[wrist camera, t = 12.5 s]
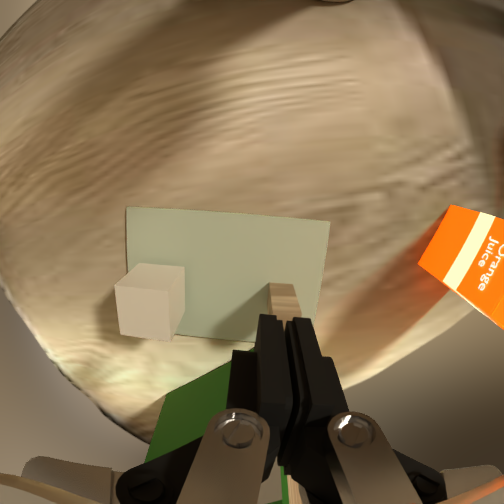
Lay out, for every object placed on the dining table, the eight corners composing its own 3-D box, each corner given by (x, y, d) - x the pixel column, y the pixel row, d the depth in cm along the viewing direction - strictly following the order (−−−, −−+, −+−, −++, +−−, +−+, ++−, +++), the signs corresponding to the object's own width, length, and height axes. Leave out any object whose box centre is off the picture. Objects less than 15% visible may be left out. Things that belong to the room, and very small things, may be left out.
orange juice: (416, 263, 32) (528, 347, 13) (450, 203, 30) (578, 244, 11) (450, 290, 33) (547, 369, 14) (482, 235, 31) (591, 287, 12)
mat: (127, 206, 31) (126, 206, 30) (329, 221, 31) (330, 222, 31) (133, 326, 35) (132, 327, 35) (309, 342, 35) (309, 344, 35)
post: (269, 282, 33) (272, 311, 26) (292, 284, 33) (301, 313, 26) (266, 303, 33) (269, 336, 27) (289, 305, 33) (297, 337, 27)
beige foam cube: (139, 262, 31) (114, 285, 25) (184, 266, 31) (168, 291, 25) (142, 305, 33) (120, 334, 26) (185, 310, 33) (170, 341, 26)
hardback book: (270, 338, 35) (284, 534, 12) (302, 375, 36) (332, 546, 13) (166, 393, 38) (120, 541, 15) (201, 422, 39) (177, 562, 17)
